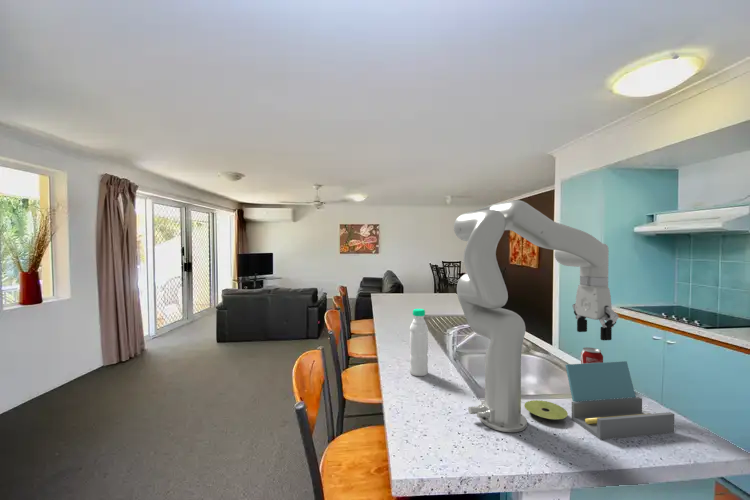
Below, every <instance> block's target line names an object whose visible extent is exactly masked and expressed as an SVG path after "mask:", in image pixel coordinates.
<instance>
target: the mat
mask: <svg viewBox="0 0 750 500" xmlns="http://www.w3.org/2000/svg"><path fill="white" fill-rule="evenodd" d="M523 407H524V408H525V409H526V411H528V412H529V413H531V414H533V415H535V416H538V417H540V418H544V419H548V420H563V419H566V418H567V417H568V414H569V412H568V411H567V410H566V409H565V408H564V407H562V406H561V405H559V404H557V403H554V402H551V401H547V400H540V399H539V400H537V399H536V400H534V399H533V400H529V401H526V402H524V406H523Z"/></svg>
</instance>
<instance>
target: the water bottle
mask: <svg viewBox="0 0 750 500" xmlns="http://www.w3.org/2000/svg"><path fill="white" fill-rule="evenodd" d="M425 315H426V310H425V308H414V309H413V310H412V316H413V320H412V322H411V324H410V326H409V353H410V355H409V373H410V375H412V376H415V377H424V376H426V375H428V373H429V367H428V364H429V357H428V352H429V351H428V350H429V335H428V334H429V333H428V331H429V327H428V324H427V322H426V320H425Z"/></svg>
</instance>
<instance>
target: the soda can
mask: <svg viewBox="0 0 750 500" xmlns="http://www.w3.org/2000/svg"><path fill="white" fill-rule="evenodd" d="M603 362H604V355H603V354H602V351H601V349H599V348H595V347H587V346H586V347H585V346H584V347H583V348H582V351H581V352H580V364H585V363H603Z"/></svg>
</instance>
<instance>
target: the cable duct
mask: <svg viewBox="0 0 750 500" xmlns="http://www.w3.org/2000/svg"><path fill="white" fill-rule="evenodd" d="M571 420H572V421H573V422H574V423H576V424H578V425H579V426H580V427H582V428H583V429H585V430H586V431H588V433H590V434H592V435H593V436H594V437H595V438H597V439H599V440H600V441H602V440H610V439H621V438H631V437H642V436H643V437H644V436H655V435H656V436H657V435H663V434H664V435H665V434H674V433H675V413H673V412H671V411H669V412H667V411H666V412H657V413H655V412H654V413H644V412H643V398H642V397H640V396H636V397H631V398H617V399H603V400H590V401H576V402H574V401H571Z"/></svg>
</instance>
